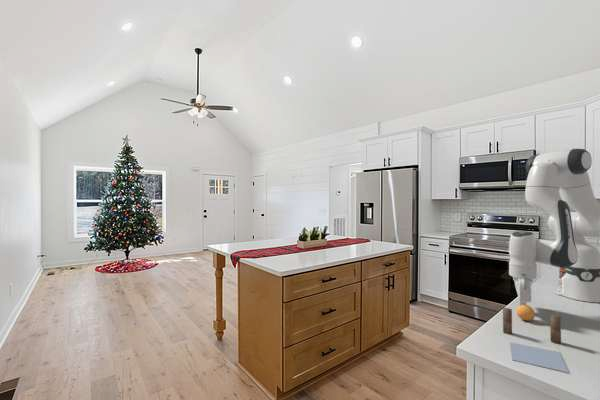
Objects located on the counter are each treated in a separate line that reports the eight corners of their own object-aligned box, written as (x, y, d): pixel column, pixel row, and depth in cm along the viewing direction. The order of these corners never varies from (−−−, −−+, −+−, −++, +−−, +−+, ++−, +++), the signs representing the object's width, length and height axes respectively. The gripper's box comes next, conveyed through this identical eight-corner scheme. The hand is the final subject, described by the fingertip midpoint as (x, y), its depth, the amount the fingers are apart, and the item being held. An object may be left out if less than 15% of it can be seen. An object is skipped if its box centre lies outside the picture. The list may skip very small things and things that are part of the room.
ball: (516, 316, 114) (515, 302, 114) (534, 319, 111) (534, 304, 111) (517, 321, 109) (517, 306, 109) (536, 324, 106) (535, 309, 106)
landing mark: (509, 342, 93) (509, 341, 93) (559, 352, 86) (559, 352, 86) (512, 360, 83) (512, 359, 83) (569, 373, 76) (569, 372, 76)
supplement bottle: (556, 283, 156) (555, 262, 156) (566, 283, 156) (566, 262, 156) (567, 286, 150) (567, 264, 150) (578, 286, 150) (577, 264, 150)
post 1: (503, 330, 102) (502, 307, 102) (511, 332, 100) (511, 308, 100) (503, 333, 99) (502, 309, 100) (512, 335, 98) (512, 311, 98)
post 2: (550, 339, 95) (549, 314, 95) (560, 341, 93) (559, 316, 93) (551, 342, 93) (550, 317, 93) (561, 344, 91) (561, 318, 91)
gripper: (535, 279, 107) (536, 316, 107) (529, 268, 125) (529, 300, 125) (514, 276, 111) (515, 313, 111) (511, 266, 128) (511, 298, 128)
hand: (522, 306), depth 118 cm, fingers closed
